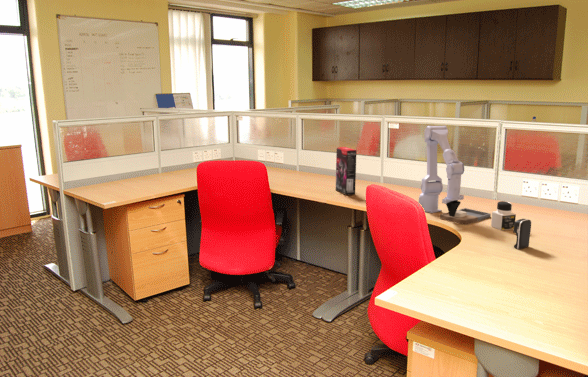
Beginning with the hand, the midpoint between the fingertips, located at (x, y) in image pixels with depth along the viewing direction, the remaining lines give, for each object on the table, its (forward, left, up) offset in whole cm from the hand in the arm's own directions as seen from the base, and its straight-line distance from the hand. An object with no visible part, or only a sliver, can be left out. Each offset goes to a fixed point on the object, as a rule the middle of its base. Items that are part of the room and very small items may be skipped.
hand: (451, 216), depth 221 cm
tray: (0, +17, -3) cm, 17 cm away
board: (0, +6, -3) cm, 6 cm away
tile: (0, +6, -1) cm, 6 cm away
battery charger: (+38, -10, -3) cm, 40 cm away
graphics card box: (-79, +7, -3) cm, 79 cm away
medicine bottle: (+20, +10, -3) cm, 22 cm away
